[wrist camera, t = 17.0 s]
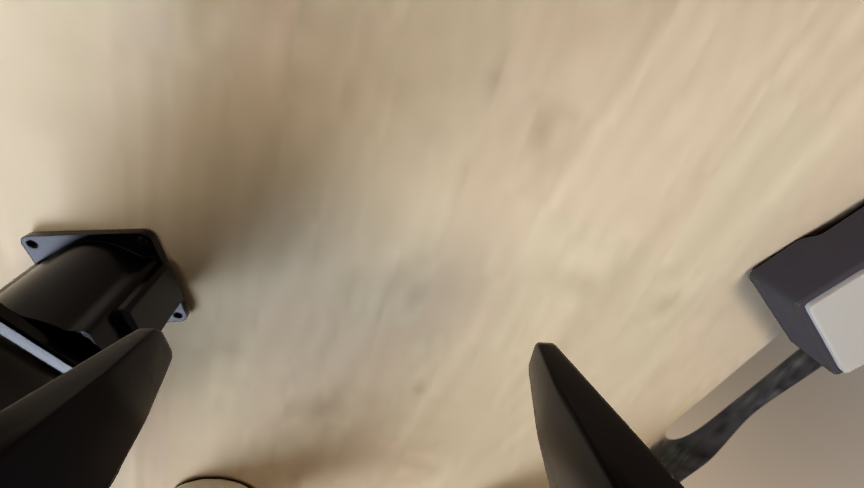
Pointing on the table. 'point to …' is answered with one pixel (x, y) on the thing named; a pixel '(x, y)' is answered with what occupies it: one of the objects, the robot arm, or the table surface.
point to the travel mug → (212, 484)
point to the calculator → (820, 293)
